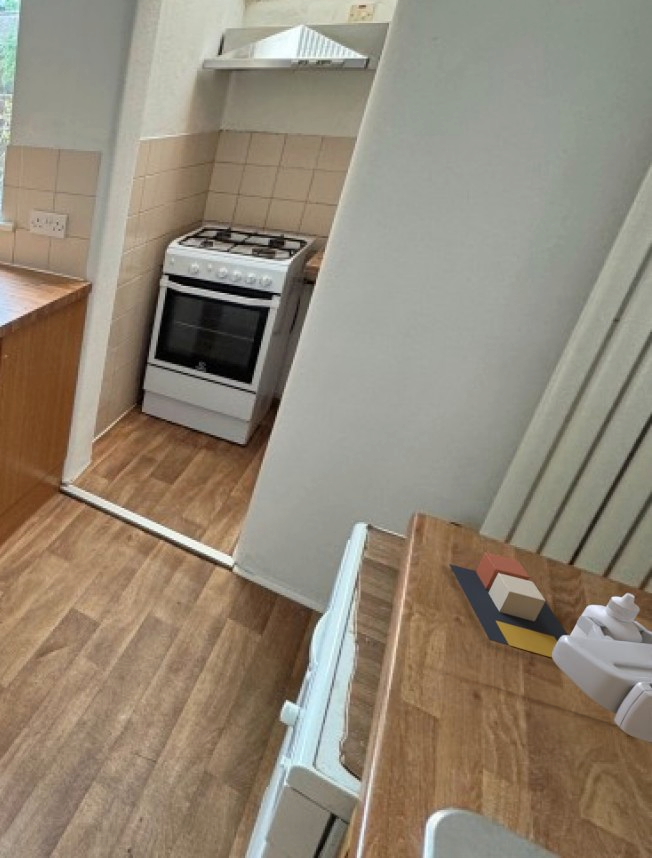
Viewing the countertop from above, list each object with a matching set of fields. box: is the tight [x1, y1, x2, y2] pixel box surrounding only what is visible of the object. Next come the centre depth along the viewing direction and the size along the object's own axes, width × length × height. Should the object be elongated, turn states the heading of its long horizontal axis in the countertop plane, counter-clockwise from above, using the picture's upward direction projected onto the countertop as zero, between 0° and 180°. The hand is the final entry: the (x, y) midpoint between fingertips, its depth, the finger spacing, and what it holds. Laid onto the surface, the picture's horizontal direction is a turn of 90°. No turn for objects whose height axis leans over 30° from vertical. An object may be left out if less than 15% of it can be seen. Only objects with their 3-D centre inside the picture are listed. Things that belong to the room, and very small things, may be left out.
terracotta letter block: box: [475, 551, 531, 590], centre depth 104 cm, size 4×4×4 cm
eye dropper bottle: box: [569, 592, 642, 643], centre depth 78 cm, size 4×6×12 cm
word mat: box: [448, 564, 569, 659], centre depth 100 cm, size 12×18×1 cm, turn 155°
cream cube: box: [489, 573, 546, 621], centre depth 100 cm, size 4×4×4 cm
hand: (604, 621), depth 78 cm, fingers closed on eye dropper bottle, 3 cm apart
